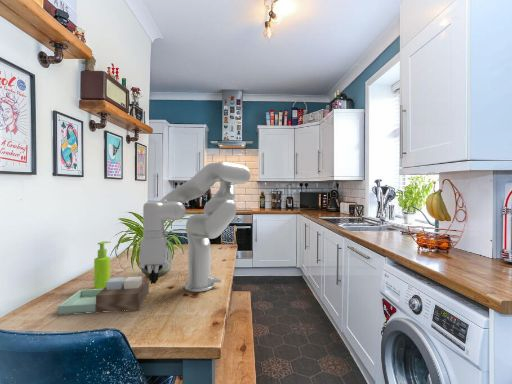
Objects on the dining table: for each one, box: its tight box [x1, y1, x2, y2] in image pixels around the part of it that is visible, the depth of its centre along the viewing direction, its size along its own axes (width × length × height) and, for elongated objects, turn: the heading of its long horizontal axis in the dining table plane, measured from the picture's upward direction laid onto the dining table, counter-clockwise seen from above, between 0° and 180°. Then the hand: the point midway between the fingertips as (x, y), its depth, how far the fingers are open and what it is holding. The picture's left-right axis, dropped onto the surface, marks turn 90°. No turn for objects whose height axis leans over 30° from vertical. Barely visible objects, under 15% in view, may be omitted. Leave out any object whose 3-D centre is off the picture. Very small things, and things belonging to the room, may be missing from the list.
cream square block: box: [124, 276, 143, 289], centre depth 107 cm, size 5×5×3 cm
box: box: [57, 288, 103, 316], centre depth 105 cm, size 12×16×3 cm
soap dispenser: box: [93, 240, 111, 289], centre depth 122 cm, size 6×7×20 cm
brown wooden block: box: [96, 278, 150, 313], centre depth 107 cm, size 14×16×6 cm
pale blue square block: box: [107, 276, 126, 290], centre depth 106 cm, size 5×5×3 cm
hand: (153, 282), depth 108 cm, fingers closed
